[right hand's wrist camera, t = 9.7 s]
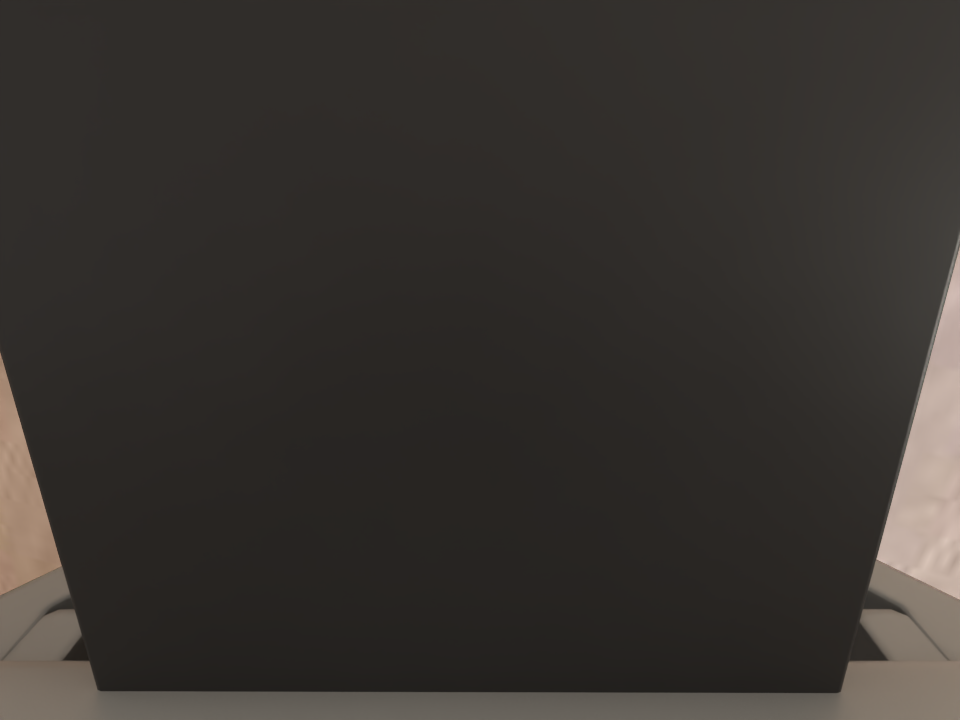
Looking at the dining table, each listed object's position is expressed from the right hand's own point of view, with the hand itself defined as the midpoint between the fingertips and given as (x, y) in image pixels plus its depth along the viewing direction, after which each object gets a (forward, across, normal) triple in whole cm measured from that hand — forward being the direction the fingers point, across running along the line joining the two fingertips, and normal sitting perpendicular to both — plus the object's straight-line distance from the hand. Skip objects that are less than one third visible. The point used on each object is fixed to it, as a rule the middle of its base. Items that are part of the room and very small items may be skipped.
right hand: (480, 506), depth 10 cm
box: (+7, 0, +8) cm, 10 cm away
